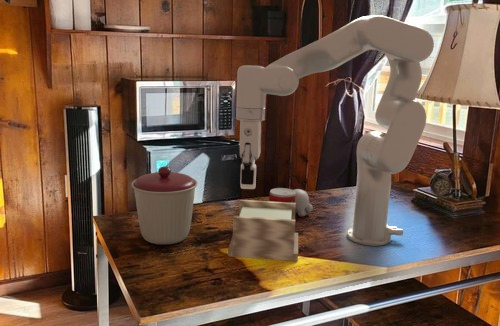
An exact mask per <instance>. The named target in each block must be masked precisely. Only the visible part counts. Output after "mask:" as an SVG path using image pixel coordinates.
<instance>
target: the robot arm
mask: <svg viewBox="0 0 500 326" xmlns="http://www.w3.org/2000/svg"><path fill="white" fill-rule="evenodd" d="M434 48H435V40H434V38H433V36H432V34H431V33H430V32H429V31H428V30H426V29H425V28H422V27H419V26H417V25H413V24H409V23H407V22H404V21H400V20H398V19H395V18H391V17H388V16H384V15H376V14H375V15H366V16H361V17H359V18H357V19H354V20H352V21H351V22H349V23H347V24H345V25H344V26H342V27H340V28H338V29H337V30H334V31H333V32H331V33H329V34H327V35H325V36H324V37H322V38H320V39H318V40H315V41H313V42H311V43H309V44H307V45H305V46H303V47H300V48H299V49H297V50H294V51H292V52H290V53H288V54H286V55H284V56H283V57H280V58H278V59H277V60H275V61H273V62H271V63H270V64H268V65H267V66H265V67H264V66H262V65H251V64H250V65H241V66H239V67H238V69H237V74H236V75H237V77H236V102H235V103H236V106H235V107H236V108H235V110H236V111H235V120H237V121H240V123H239V157H240V159H242V163H241V164H242V171H241V170H240V179H241V184H248V185H253V180H254V170H253V160H254V159H253V158H255V160H254V164H255V165H256V160H258V159H259V157H260V156H261V152H262V151H261V149H262V146H261V145H262V122H263V121H265V120H266V100H267V98H266V97H267V95H274V96H280V97H283V96H284V97H286V96H290V95H292V94H294V92H295V91H296V90H297V89H298V87H299V84H300V79H302V78H303V77H306V76H307V77H308V76H310V75H312V74H316V73H323V72H327V71H331V70H333V69H336V68H338V67H340V66H342V65H344V64H345V63H347V62H349V61H351V60H352V59H354V58H356V57H358V56H359V55H361V54H363V53H365V52H367V51H369V50H370V51H371V50H372V51H373V50H375V51H379V52H382V53H384V56H385V57H386V59H387V62H388V63H389V64H388V65H389V70H390V73H389V78H388V80H387V83H386V86H385V88H384V90H383V93H382V96H381V98H380V100H379V103H378V105H377V107H376V110H375V113H374V114H375V115H374V118H375V121H376V123H377V124H378V125H379V126H380V127H382V128H384V129H386V130H387V132H386V133H384V132H381V131H374V130H373V131H369V132H366V133H364V134H363V135H362V136H361V137H360V139H359V140H358V142H357V145H356V163H357V165H356V166H357V171H356V173H357V176H356V189H355V198H354V199H355V200H354V209H353V210H354V212H353V223H352V227H350V228H349V229H348V230H347V231H346V237H347V238H348V239H349V240H350V241H352V242H354V243H356V244H360V245H365V246H372V247H377V246H378V247H379V246H385V245H388V244H389V243H391V238H392V237H391V236H394V235H395V236H401V237H402V236H403V234H404V230H403V228H398V227H397V226H391V225H390V226H389V224H388V214H389V208H390V207H389V205H390V196H391V195H390V193H391V188H392V187H391V186H392V175H394V174H398V173H400V172H402V171H403V170H404V169H406V167H408V165H409V163H410V161H411V159H412V157H413V155H414V153H415V150H416V149H417V147H418V144H419V142H420V140H421V137H422V134H423V132H424V130H425V127H426V123H427V112H426V109H425V107H424V105H423V104H422V103H421V102H419V101H418V100H416V97H417V94H418V92H419V89H420V86H421V82H422V79H423V78H422V77H423V75H422V73H423V72H422V67H421V64H420V62H423V61H426V60H427V59H428V58H429V57H430V56H431V55H432V53H433V51H434ZM250 156H252V158H249V157H250ZM249 160H251V162H250V161H249Z"/></svg>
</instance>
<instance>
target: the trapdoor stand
mask: <svg viewBox="0 0 500 326" xmlns="http://www.w3.org/2000/svg"><path fill="white" fill-rule="evenodd" d="M238 202H239V206H238V207H239V208H238V209H239V211H238V215H233V217H232V237H231V239H230V241H229V245H228V249H227V257H231V258H232V257H234V258H245V259H247V258H248V259H261V260H262V259H263V260H274V261H275V260H276V261H291V262H298V261H299V232H296V214H295V206H296V203H287V202H271V201H269V200H266V201H265V200H253V199H252V200H251V199H249V200H248V199H239V201H238ZM243 206H244V207H261V208H277V209H292V216H291V220H290V219H274V218H258V217H242V216H240V213H241V210H242V207H243Z"/></svg>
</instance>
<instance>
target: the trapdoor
mask: <svg viewBox="0 0 500 326" xmlns="http://www.w3.org/2000/svg"><path fill="white" fill-rule="evenodd" d="M240 216H242V217H258V218H274V219H290V220H291V216H292V209H277V208H261V207H244V206H243V207H242V210H241V213H240Z"/></svg>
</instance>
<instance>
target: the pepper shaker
mask: <svg viewBox="0 0 500 326" xmlns="http://www.w3.org/2000/svg"><path fill="white" fill-rule="evenodd" d="M249 158H252V156H250V157H249ZM253 159H254V160H255V161H256V158H253ZM254 160H253V170H254V180H253V185H248V184H241V178H240V179H239V180H240V182H239V184H240V189H243V190H254V189H256V183H257V182H256V181H257V180H256V179H257V178H256V177H257V165H256V163H255V164H254ZM249 161H250V162H251V160H249ZM241 171H242V163H241V164H240V172H241Z"/></svg>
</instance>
